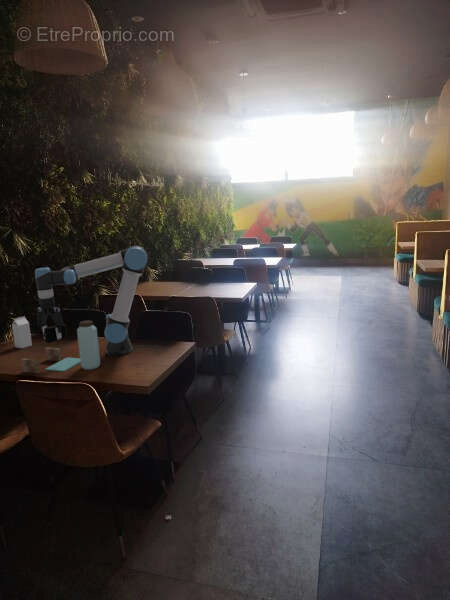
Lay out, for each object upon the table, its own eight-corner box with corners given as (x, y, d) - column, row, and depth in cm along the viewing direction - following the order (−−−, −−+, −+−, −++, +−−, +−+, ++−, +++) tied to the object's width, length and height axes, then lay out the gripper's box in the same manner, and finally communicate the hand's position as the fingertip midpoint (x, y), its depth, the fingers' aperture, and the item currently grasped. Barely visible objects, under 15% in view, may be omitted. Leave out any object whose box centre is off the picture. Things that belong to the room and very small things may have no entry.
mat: (85, 359, 234) (84, 358, 234) (64, 371, 217) (64, 370, 217) (66, 358, 237) (66, 357, 237) (45, 370, 221) (45, 368, 220)
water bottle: (89, 371, 216) (84, 325, 211) (77, 368, 221) (71, 323, 216) (104, 365, 224) (99, 320, 219) (92, 362, 229) (87, 318, 224)
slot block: (61, 360, 235) (60, 348, 233) (37, 373, 216) (35, 360, 215) (48, 359, 237) (47, 347, 236) (23, 371, 219) (21, 359, 217)
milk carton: (32, 345, 264) (28, 316, 260) (21, 348, 258) (17, 319, 254) (25, 343, 268) (21, 315, 264) (15, 347, 262) (10, 318, 258)
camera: (60, 335, 233) (58, 321, 231) (69, 336, 230) (68, 322, 228) (39, 342, 220) (37, 327, 219) (48, 343, 217) (46, 329, 216)
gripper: (67, 295, 219) (73, 336, 224) (35, 295, 226) (42, 335, 230) (57, 298, 212) (64, 341, 217) (25, 298, 219) (32, 339, 223)
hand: (52, 338), depth 224 cm, fingers closed on camera, 8 cm apart
